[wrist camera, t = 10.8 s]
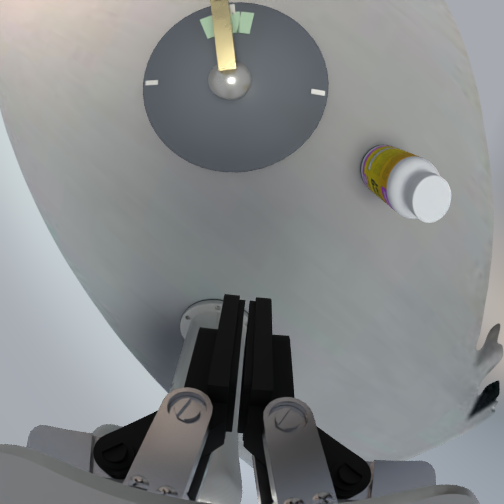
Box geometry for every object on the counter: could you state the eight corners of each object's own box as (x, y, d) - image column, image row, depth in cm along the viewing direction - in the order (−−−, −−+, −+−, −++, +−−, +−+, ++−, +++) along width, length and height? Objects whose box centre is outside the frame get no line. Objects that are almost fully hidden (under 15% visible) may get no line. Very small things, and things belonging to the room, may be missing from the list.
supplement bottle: (349, 170, 34) (389, 200, 22) (381, 133, 31) (434, 148, 20) (382, 203, 35) (427, 245, 24) (412, 169, 33) (468, 198, 21)
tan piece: (253, 97, 29) (252, 95, 26) (215, 102, 29) (209, 101, 26) (241, 0, 23) (238, -11, 20) (203, 6, 23) (197, -4, 20)
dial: (313, 179, 35) (315, 182, 33) (143, 165, 34) (139, 168, 33) (333, 17, 24) (335, 14, 23) (156, 9, 24) (152, 6, 23)
